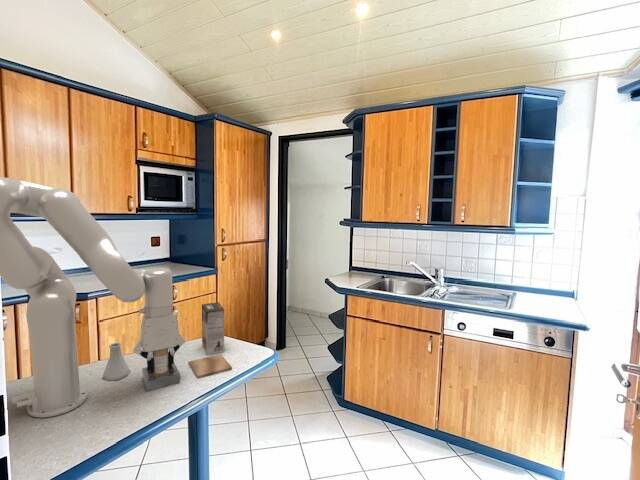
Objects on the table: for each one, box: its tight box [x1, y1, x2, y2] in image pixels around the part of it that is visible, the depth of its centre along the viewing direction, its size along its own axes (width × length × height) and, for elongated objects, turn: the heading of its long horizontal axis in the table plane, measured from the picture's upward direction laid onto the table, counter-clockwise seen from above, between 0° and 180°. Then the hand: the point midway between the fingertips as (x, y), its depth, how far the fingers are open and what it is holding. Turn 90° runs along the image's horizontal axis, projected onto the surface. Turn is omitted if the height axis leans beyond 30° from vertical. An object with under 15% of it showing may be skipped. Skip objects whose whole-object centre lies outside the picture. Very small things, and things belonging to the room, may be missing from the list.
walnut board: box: [187, 353, 233, 379], centre depth 115 cm, size 11×11×1 cm
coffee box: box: [201, 301, 225, 356], centre depth 128 cm, size 9×6×16 cm
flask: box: [101, 342, 131, 382], centre depth 108 cm, size 7×7×10 cm
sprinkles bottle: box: [152, 348, 169, 379], centre depth 106 cm, size 5×5×14 cm
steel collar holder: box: [141, 362, 181, 392], centre depth 106 cm, size 9×9×3 cm
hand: (160, 368), depth 106 cm, fingers closed on sprinkles bottle, 4 cm apart
